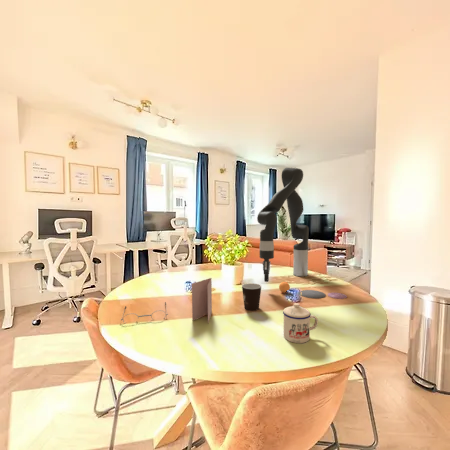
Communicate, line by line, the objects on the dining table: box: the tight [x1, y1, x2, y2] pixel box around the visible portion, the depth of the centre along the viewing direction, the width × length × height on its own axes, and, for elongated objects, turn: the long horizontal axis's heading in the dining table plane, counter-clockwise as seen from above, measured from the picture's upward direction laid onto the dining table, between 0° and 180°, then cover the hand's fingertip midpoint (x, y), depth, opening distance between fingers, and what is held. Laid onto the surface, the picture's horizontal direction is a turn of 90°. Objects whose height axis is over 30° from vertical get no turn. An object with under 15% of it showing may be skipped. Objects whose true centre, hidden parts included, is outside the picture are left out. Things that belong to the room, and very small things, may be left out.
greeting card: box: [191, 277, 213, 323], centre depth 105 cm, size 11×7×15 cm, turn 141°
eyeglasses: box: [120, 301, 169, 323], centre depth 112 cm, size 18×19×4 cm
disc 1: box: [300, 289, 327, 299], centre depth 134 cm, size 13×13×1 cm
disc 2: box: [327, 292, 348, 300], centre depth 131 cm, size 9×9×1 cm
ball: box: [278, 281, 291, 294], centre depth 137 cm, size 6×6×6 cm
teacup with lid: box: [282, 302, 319, 344], centre depth 89 cm, size 12×9×12 cm
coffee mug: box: [241, 282, 262, 312], centre depth 117 cm, size 12×9×10 cm
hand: (266, 281), depth 139 cm, fingers closed
